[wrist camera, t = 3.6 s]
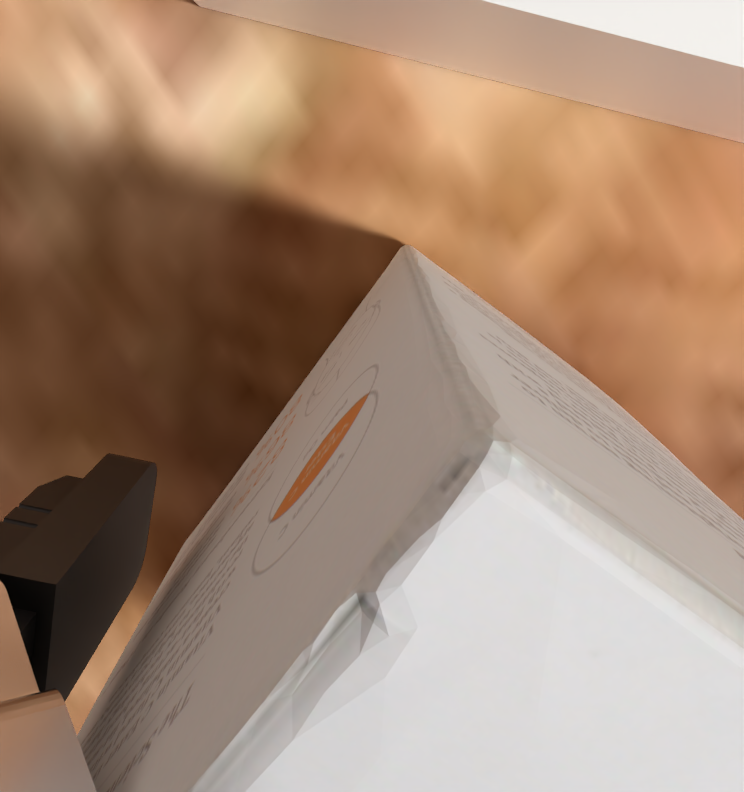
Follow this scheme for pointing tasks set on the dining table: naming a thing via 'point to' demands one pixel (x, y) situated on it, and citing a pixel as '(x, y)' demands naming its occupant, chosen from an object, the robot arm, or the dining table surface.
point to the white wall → (554, 47)
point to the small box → (440, 586)
